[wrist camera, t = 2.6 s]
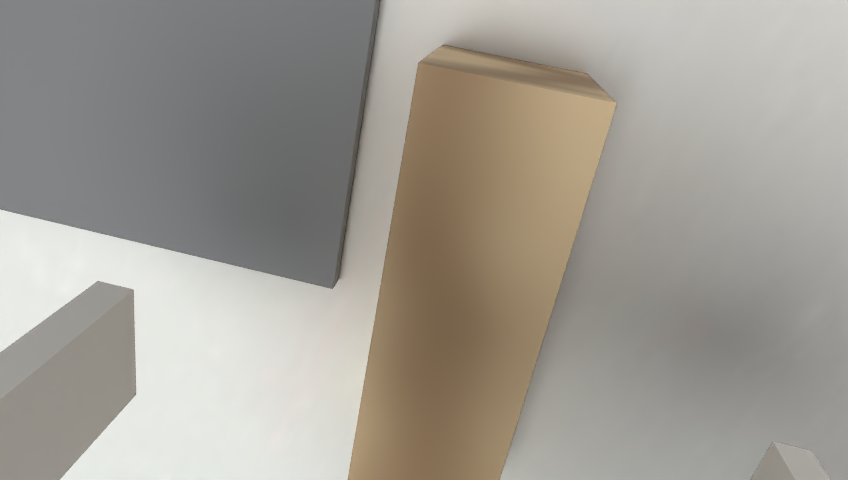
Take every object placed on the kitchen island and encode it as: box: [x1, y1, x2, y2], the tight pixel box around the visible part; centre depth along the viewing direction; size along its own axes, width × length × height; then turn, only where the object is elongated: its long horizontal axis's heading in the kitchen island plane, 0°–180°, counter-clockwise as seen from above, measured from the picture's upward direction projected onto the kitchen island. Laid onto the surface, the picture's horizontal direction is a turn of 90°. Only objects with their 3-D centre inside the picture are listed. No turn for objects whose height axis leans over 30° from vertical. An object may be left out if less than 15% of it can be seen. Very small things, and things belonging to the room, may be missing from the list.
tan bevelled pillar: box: [348, 45, 617, 480], centre depth 17 cm, size 4×14×5 cm, turn 170°
